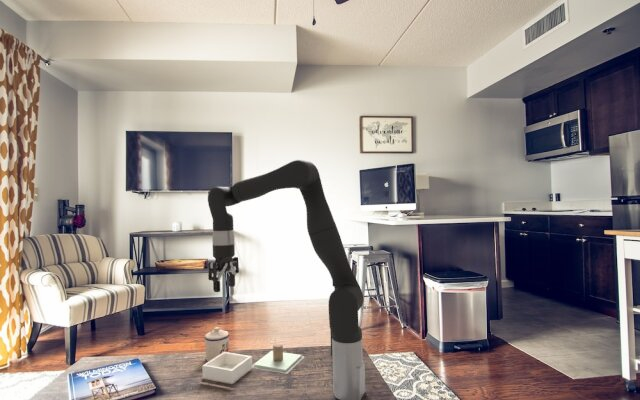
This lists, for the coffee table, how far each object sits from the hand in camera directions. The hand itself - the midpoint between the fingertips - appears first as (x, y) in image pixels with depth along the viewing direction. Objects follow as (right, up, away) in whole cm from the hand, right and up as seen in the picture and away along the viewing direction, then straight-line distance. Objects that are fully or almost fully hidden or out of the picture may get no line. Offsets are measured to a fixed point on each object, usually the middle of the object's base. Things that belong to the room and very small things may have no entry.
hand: (224, 289), depth 132 cm
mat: (+18, -29, +6) cm, 35 cm away
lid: (+18, -28, +6) cm, 34 cm away
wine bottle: (+41, -29, +12) cm, 51 cm away
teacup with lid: (-6, -30, +14) cm, 33 cm away
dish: (+2, -29, -2) cm, 29 cm away
